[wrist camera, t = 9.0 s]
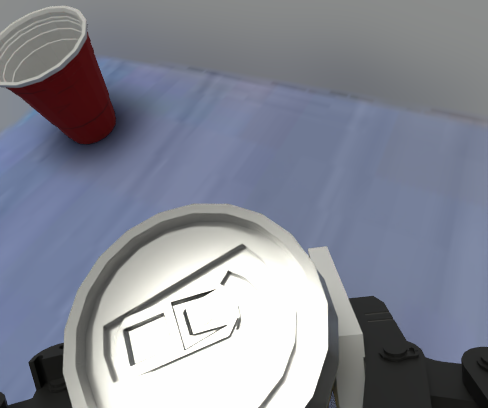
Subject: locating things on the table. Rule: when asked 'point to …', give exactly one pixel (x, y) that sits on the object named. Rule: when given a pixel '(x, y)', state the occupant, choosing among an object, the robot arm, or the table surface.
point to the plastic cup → (57, 72)
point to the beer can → (202, 318)
